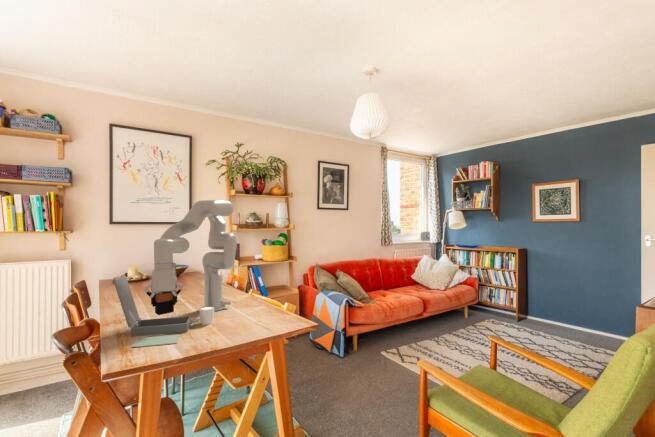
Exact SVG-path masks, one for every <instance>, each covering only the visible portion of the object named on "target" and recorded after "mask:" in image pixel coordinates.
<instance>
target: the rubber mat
mask: <svg viewBox="0 0 655 437" xmlns="http://www.w3.org/2000/svg"><path fill="white" fill-rule="evenodd" d="M181 336H182V334H181V333H180V334H168V335H158V336H157V335H155V336H145V337H144V336H143V337H138V338H137V339H136V341H135V342H134V343H133V344H132V345H131V346H130V348H131V349H134V348H133V347H136V348H143V347H144V348H145V347H153V346H154V347H155V346H156V347H157V346H167V345H176V344H177V343H178V341H179V340H180V338H181Z"/></svg>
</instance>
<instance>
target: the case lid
mask: <svg viewBox="0 0 655 437" xmlns="http://www.w3.org/2000/svg"><path fill="white" fill-rule="evenodd" d="M113 284H114V287H115V290H116V294H117V297H118V299H119V303H120V306H121V309H122V312H123V315H124V317H125V318H124V319H125V321H126V324H127V327H128V329H129V328H130V329H131V327H132V326H131V325H132V324H135V322H134V320H133V319H132V317H131V315H130V313H129V312H128V311H129V310H130V311H131V313H132V315H133V316H134V318H135V320H136V322H138V319H139V318H140V315H139V312H138V309H137V306H136V303H135V300H134V296H133V294H132V291H131V287H130V284H129V281H128V278H127V276H126V275H122V276H121V277H118V278H116V279H114V280H113Z"/></svg>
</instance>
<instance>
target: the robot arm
mask: <svg viewBox="0 0 655 437" xmlns="http://www.w3.org/2000/svg"><path fill="white" fill-rule="evenodd" d="M233 212H234V205H233V204H232V202H231V201H229V200H215V199H210V200H209V199H206V200H205V199H204V200H198V201H196V202H195V203H194V204H193V205H192V207H191V208H190V210H189V211H188V212H187V213H186V215H185V216H184V217H183V219H181V220H179V221H177V222H175V223H174V224H173V225H171V226H170V227H168V228H167V229H166V230H165V231H164V232H163V234H162V235H161V237H160V238H159V239H158V238H157V239H155V240H154V241H153V266H154V267H153V269H152V273H151V277H150V278H151V280H150V283H149V284H148V285H147V286H146V287H144V288H143V291H144V292H145V293H146V295H147V296H149V297H150V305H152V308H155V293H158V292H169V291H171V292H172V293H173V295H174V296H173V305H174V306H175V305H176V304H177V303H178V295H179V294H180V293H181V292H182V290H184V288H185V285H183V284H182V283H180V282H179V281H178V280H177V278H178V277H177V271H176V268H175V267H176V266H177V263H175V262H174V254H184V253H186V252H187V251H188V250H189V248H190V242H189V240H188V239H187V238H184V237H182V236H183V235H186V234H189V233H192V232H195V231H196V230H198V229H199V228H200V227H201V225H202V223H203V222H204V220H205V219H206V218H208V220H209V233H208V240H207V246H208V248H210V249H211V250H215V251H208V252H206V253H205V254H204V255H203V257H202V267H203V273H204V276H203V277H204V279H203V280H204V285H203V286H204V289H203V290H204V292H203V293H204V302H203V303H204V305H203V306H201V308H203V307H214V312H217V311H218V312H219V311H222V310H224V309H226V306H230V305H231V303H232V301H231V300H224V298H223V274H222V272H221V270H231V269H232V268H233V267H234V265H235V261H236V252H237V247H238V246H237V242H238V241H237V236H235V234H234V233H232V232H226V230H227V229H226V228H227V225H226V220H225V219H224V217H230V216H231V215H232V214H233ZM216 250H217V251H216ZM218 250H219V251H218ZM220 250H222V252H221V251H220ZM178 287H179V288H178ZM177 288H178V290H176V289H177Z"/></svg>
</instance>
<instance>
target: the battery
mask: <svg viewBox="0 0 655 437" xmlns="http://www.w3.org/2000/svg"><path fill="white" fill-rule="evenodd" d="M173 296H174V295H173V293H172V292H171V291H169V292H156V293H155V306H154V308H155V309H154V313H155V314H156V315H158V316H162V315H166V314H171V313H174V312H175V309H174V308H175V305H173Z"/></svg>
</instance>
